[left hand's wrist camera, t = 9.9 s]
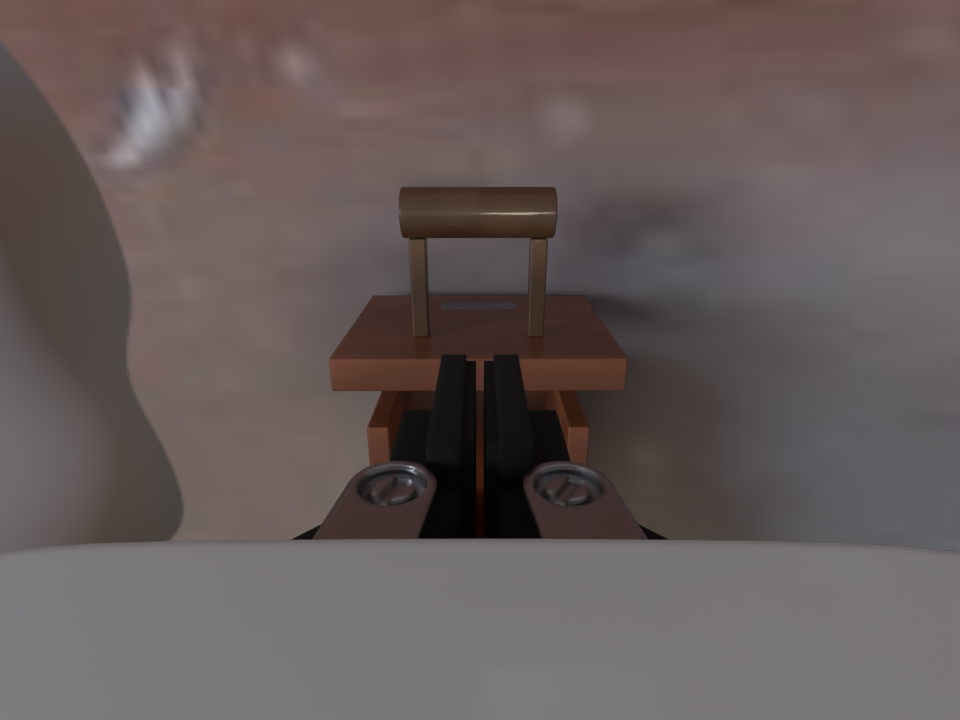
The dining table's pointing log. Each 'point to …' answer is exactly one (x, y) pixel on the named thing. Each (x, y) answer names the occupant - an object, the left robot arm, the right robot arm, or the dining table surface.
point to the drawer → (477, 325)
